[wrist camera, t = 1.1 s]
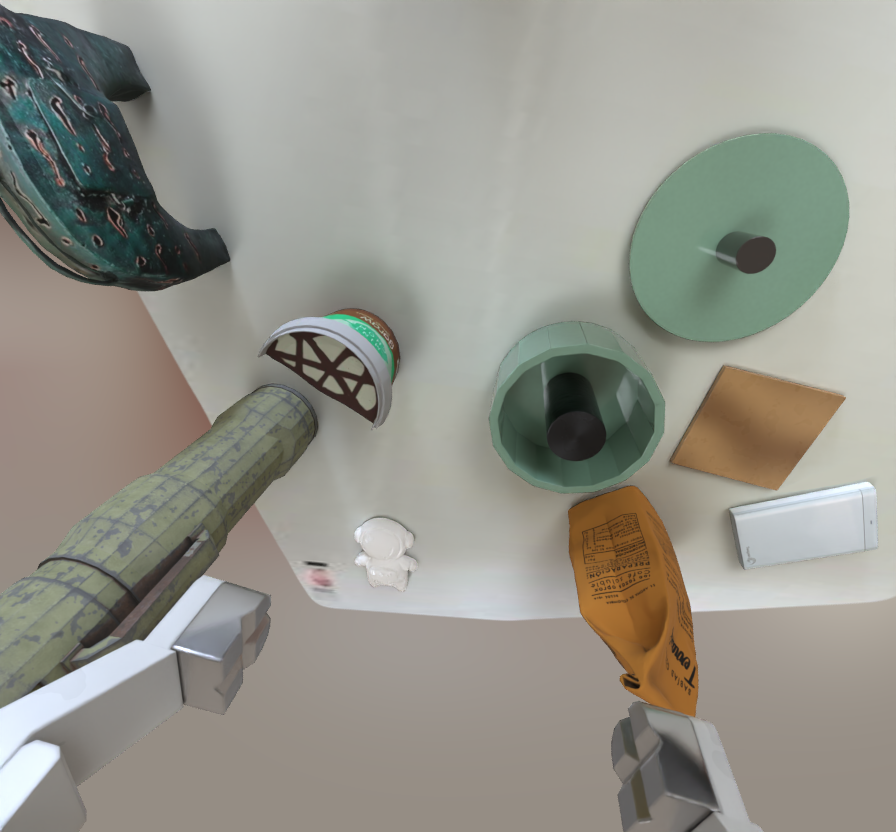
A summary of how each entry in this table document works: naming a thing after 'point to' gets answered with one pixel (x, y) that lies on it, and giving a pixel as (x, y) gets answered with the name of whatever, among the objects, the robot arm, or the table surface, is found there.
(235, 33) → the table surface
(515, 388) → the pot
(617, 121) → the table surface
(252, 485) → the grey-green stone column
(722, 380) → the trivet
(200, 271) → the teal patterned animal figure
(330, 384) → the food container
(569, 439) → the tin
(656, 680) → the coffee package
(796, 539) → the hard drive
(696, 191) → the lid
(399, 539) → the white flat figurine
